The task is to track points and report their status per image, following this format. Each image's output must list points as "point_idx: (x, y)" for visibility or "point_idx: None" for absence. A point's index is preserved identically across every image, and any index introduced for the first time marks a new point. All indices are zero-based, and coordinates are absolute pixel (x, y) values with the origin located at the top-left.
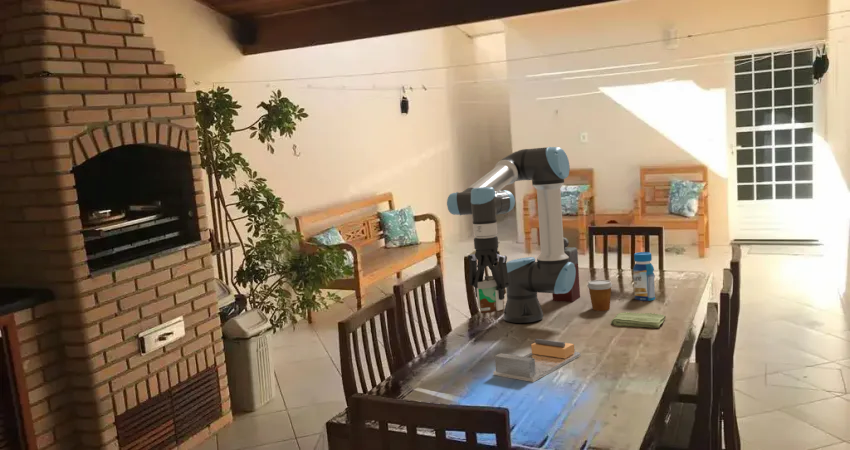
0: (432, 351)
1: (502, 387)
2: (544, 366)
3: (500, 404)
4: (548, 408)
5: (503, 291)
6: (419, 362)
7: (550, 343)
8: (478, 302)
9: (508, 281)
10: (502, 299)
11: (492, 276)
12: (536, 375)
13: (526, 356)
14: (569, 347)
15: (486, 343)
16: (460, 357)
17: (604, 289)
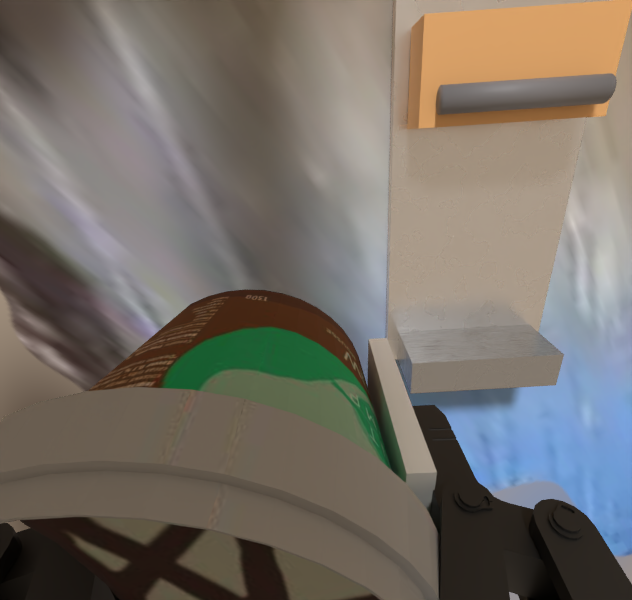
0: (6, 272)
1: (463, 410)
2: (524, 241)
3: (512, 479)
4: (626, 451)
5: (468, 474)
6: (95, 377)
7: (532, 107)
8: None
9: (626, 586)
10: (404, 389)
11: (115, 511)
12: (532, 325)
13: (402, 170)
14: (615, 60)
15: (73, 44)
16: (159, 275)
17: None
